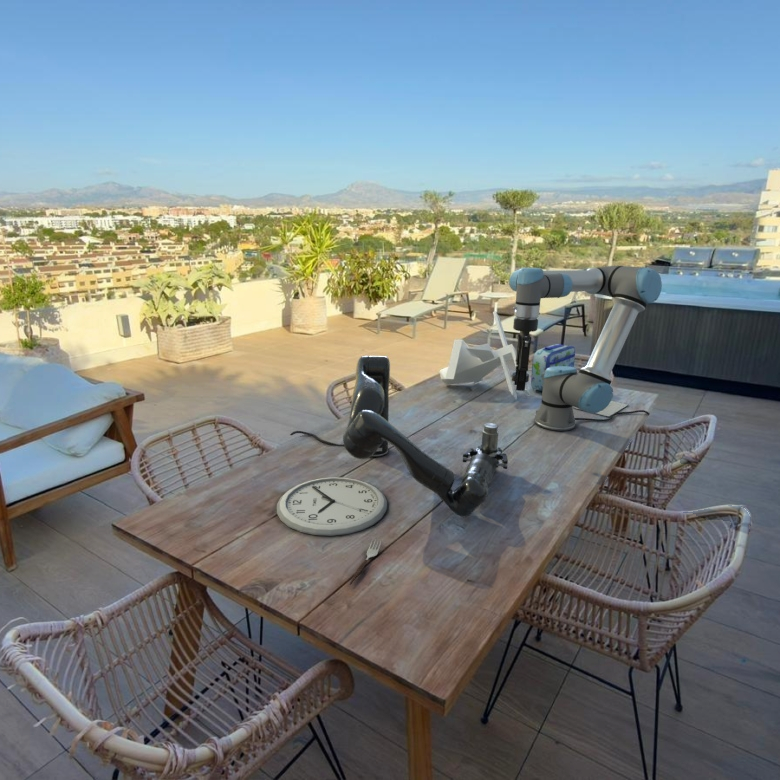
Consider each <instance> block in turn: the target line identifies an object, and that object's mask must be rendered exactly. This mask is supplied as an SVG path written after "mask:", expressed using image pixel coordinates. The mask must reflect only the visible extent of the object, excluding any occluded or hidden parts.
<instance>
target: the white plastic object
mask: <svg viewBox="0 0 780 780" xmlns="http://www.w3.org/2000/svg"><path fill="white" fill-rule="evenodd" d="M492 315H493V319H494V321H495V324H496V325H495V326H496V328H497V332H498V335H499V338H500V342H501V345H502V347H500V348H498V349H496V350H495V349H493V348H492V347H491V346H490V344H489V343H488V342H487V343H483V344H479V345H473V346H469V345H468V343H466V342H465V340H464V339H463V338H460V339H458V338H454V340H453V344H452V349H451V353H450V357H449V362H448V366H446V367H444V368H442V369H440V370H439V371H438V372H439V376H440V381H442V383H443V384H444V385H445V386H449V385H458V384H467V383H468V384H469V383H473V384H477V383H480V382H482V381H484V378H485V377H486V376H487V375H489V374H490V373H492V372H494V371H495V370H496V369H497V368H499V367H500V366H502V370H503V373H504V376H505V380H506V383H507V386H508V390H509V393H510V394H511V395H512V397H513V398H514V399H515V400H517V392H516V391H517V390H516V387H515V385H514V381H512V374H511V371H510V369H509V365H508V361H510V360H513V363H514V366H515V367H516V366H518V365H516V355H517V348H516V347H515V346H514V345H513V343H511V344H508V341H507V337H506V334H505V331H504V328H503V325H502V321H501V318H500V315H499V314H498V312H497V311H496V310H495V311H492ZM528 387H529V386H528V384H527V383H526V384H525V391H523V393H524V395H525V396H526V397H528V396H531V395H530V390H529V388H528Z"/></svg>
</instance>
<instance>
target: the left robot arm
mask: <svg viewBox="0 0 780 780" xmlns="http://www.w3.org/2000/svg"><path fill="white" fill-rule="evenodd" d="M355 367H356V368H355V383H354V388H353V392H352V397H351V405H350V410H349V417H348V421H347V425H346V427H345V430H344V432H343V435H342V443H343V444H339V443H334V442H331V441H327V440H324V439H321V438H320V437H319V436H317V435H316V434H314V433H311V432H306V431H302V430H295V431H292V432H291V433H290V434H289V436H293V435H295V434H303V435H306V436H310V437H314V438H315V439H316V440H317V441H319V442H321V443H323V444H326V445H329V446H333V447H344V448H345V450H346V451H347V452H348V454H349V455H350V456H352V457H353V458H354V459H357V460H367V459H369V458H371V457H372V458H379V457H383V456H386V455H387V454H389V445H392V447H394V448H395V449H396V451H398V453H399V455H400V456H401V458H402V460H403V463H404V464H405V467H406V468H407V470H408V472H409V473H410V476H411V477H412V478H413V479H414V481H416V482H418V483H419V484H420V485H422V486H423V487H425V488H427V489H428V490H430V492H433V493H435V495H437V496H438V497H439V499H441V501H443V503H444V504H445V505H446V506H447V507H448V508H449V510H451V512H452V513H453V514H455V515H456V516H458V517H461V518H462V517H463V518H465V517H466V518H467V517H469V516H471V515H472V514H473V513H474V512H475V511H476V510H477V509H478V508H479V507H480V506H481V505H482V504H483V503H484V502H485V501H486V499H487V498H488V495H489V488H488V486H489V484H490V483H491V481H492V479H493V477H494V474H495V473H496V469H498V468H499V467H501V468H502V469H504V470H507V469H508V465H509V460H508V456H507V453H505V452H504V453H503V449H501V447H498V446H497V451H496V453H492V454H490V455H487V454H482V452H481V446H482V444H480V445H478V446H477V448H475V449H474V448H473V447H472V448H469V449H467V450H466V451H465V452H463V453H462V463H467V462H469V464H468V465H466V469H465V472H464V474H463V477H462V479H461V484H460V485H459V486H458V487H457V488H456V489H455V490H454V489H452V487H453V486H454V484H455V480H456V477H455V475H456V474H455V473H454V472H453V471H452V470H451V469H449V468H448V467H446V466H445V465H443V464H441V463H440V462H438V461H437V460H435V459H434V458H432V457H431V456H430V455H428V454H427V453H425V452H424V451H423V450H421V448H419V447H418V446H417V445H416V444H415V443H414V442H412V441H411V440H410V439H409V438H408V437H407V436H406V435H404V434H403V433H402V432H401V431H400V430H399V429H397V428H396V427H395V426H394V425H393V424H392V423H391V422H389V418H390V417H389V415H390V414H389V411H390V410H389V409H390V407H389V405H390V395H389V394H390V377H391V361H390V358H389V357H388V356H385V355H363V356H360V357H359V358H358V360H357V362H356V366H355ZM494 472H495V473H494Z"/></svg>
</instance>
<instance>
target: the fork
mask: <svg viewBox="0 0 780 780" xmlns="http://www.w3.org/2000/svg"><path fill="white" fill-rule="evenodd" d="M376 540H377V543H376ZM379 540H380V542H379ZM373 541H374V542H373ZM382 541H383V539H379V538H378V539H377V538H375V540H374V538H372V540H371V542H370V544H369V547H368V549H367V551H366V556H367V557H366V558H365V559H364V561H362V563H361V564H360V565H359V566H358V567H357V569H356V571H355V573H354V575H353V577H352V579H351V581H350V583H349V585H352V584H353V583H354V582H355V581H356V579H357V578H358V577H359V576H360V574H361V573H363V571H364V569H365V567H366V564H367V563H368V560H369V559H371V558H374V557H376V556H377V555H378V554H379V551H380V548H381V544H382ZM378 543H379V545H378ZM372 544H373V545H372Z"/></svg>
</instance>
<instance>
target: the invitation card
mask: <svg viewBox="0 0 780 780" xmlns="http://www.w3.org/2000/svg"><path fill="white" fill-rule="evenodd" d="M628 406H629V404H627V403H623V402H618V401H614V400H611V402H610V403H609V405H608V406H607V407H606V408H605V409H604V410H602V411H600V412H598V413H595V414H596V415H600V416H604V417H608V418H610V417H611V415H612V414H615V413H619V412H620V411H621V410H623V409H624V408H626V407H628ZM573 409H575V410H581V409H579V408H576V407H574V406H573ZM581 411H582V410H581Z"/></svg>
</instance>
